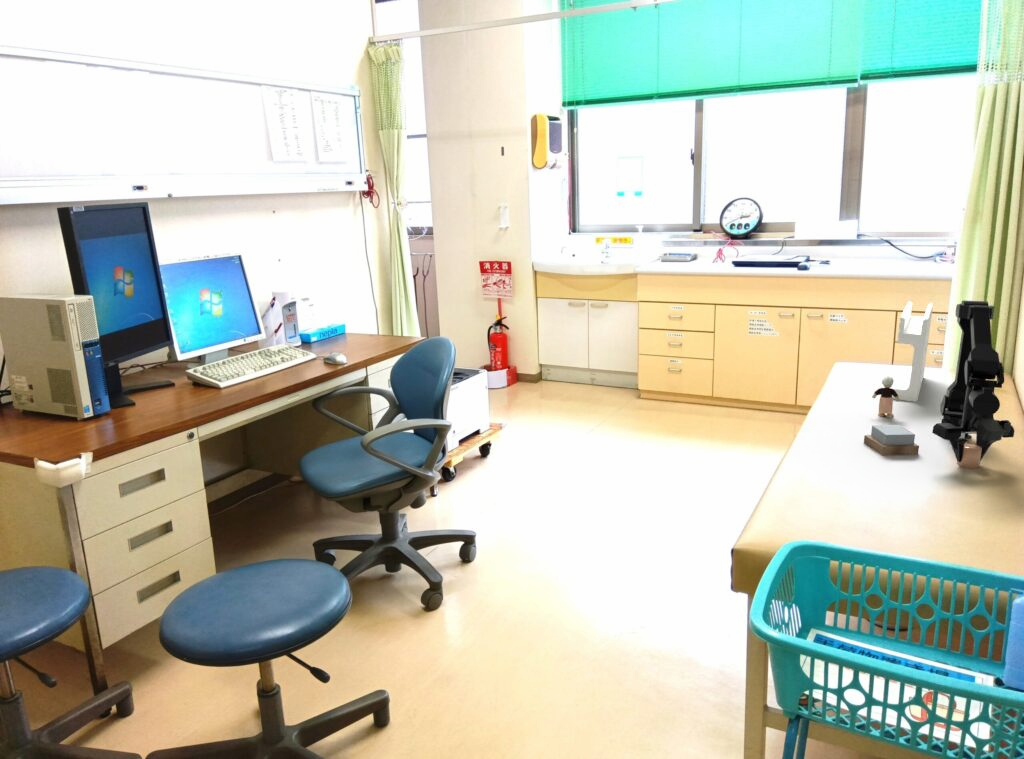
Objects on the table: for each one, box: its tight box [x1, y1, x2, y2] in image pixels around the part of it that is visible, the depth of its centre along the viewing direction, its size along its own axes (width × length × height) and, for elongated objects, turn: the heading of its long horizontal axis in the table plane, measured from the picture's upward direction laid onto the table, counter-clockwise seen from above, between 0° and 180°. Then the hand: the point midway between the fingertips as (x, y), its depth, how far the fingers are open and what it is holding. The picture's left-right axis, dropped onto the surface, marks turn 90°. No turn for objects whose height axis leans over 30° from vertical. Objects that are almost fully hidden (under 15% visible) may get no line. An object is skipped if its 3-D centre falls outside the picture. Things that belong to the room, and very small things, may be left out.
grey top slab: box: [870, 424, 916, 445], centre depth 210 cm, size 8×8×3 cm
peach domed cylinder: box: [956, 443, 982, 469], centre depth 198 cm, size 5×5×5 cm
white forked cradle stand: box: [891, 301, 934, 403], centre depth 265 cm, size 35×8×28 cm, turn 149°
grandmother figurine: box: [871, 376, 900, 418], centre depth 237 cm, size 8×4×13 cm, turn 71°
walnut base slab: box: [863, 434, 920, 457], centre depth 211 cm, size 10×10×3 cm
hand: (968, 461), depth 198 cm, fingers closed on peach domed cylinder, 5 cm apart
